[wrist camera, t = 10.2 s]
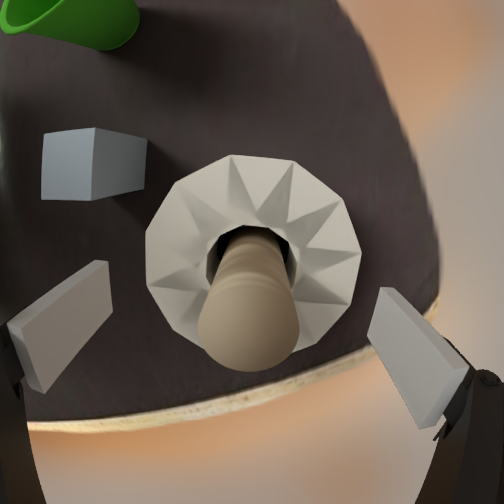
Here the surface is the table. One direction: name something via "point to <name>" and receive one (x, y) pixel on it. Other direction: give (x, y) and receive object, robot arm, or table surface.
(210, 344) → the dowel
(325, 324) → the socket
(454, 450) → the robot arm
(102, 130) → the square peg
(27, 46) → the table surface
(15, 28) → the cup
